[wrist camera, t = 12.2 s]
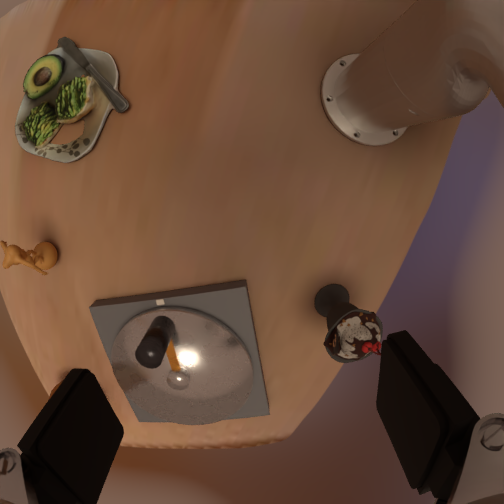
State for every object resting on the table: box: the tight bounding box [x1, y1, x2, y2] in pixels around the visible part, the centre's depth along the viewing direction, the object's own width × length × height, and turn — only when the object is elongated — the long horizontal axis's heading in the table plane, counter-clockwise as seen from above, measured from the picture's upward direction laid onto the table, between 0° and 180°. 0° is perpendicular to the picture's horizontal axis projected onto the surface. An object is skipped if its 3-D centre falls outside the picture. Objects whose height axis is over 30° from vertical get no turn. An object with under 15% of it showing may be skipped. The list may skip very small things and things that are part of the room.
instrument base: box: [89, 280, 270, 422], centre depth 41 cm, size 22×22×3 cm
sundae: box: [315, 284, 383, 363], centre depth 33 cm, size 7×7×15 cm
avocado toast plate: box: [15, 37, 129, 163], centre depth 30 cm, size 19×18×5 cm
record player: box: [111, 307, 253, 425], centre depth 35 cm, size 20×20×8 cm
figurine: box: [0, 241, 57, 275], centre depth 32 cm, size 8×6×12 cm
